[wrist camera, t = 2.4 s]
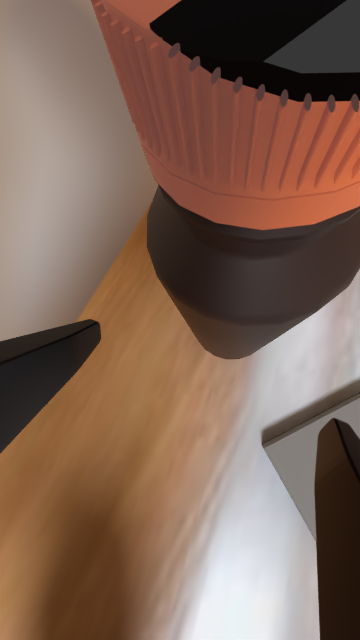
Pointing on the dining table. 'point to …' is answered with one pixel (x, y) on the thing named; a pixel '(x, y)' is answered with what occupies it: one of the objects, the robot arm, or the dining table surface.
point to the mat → (307, 455)
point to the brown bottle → (245, 155)
